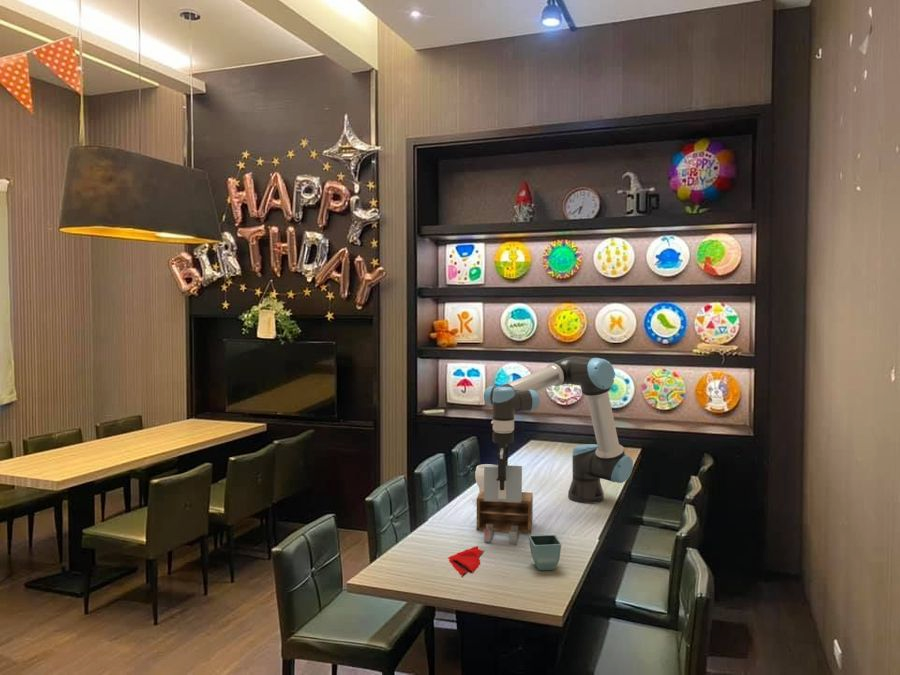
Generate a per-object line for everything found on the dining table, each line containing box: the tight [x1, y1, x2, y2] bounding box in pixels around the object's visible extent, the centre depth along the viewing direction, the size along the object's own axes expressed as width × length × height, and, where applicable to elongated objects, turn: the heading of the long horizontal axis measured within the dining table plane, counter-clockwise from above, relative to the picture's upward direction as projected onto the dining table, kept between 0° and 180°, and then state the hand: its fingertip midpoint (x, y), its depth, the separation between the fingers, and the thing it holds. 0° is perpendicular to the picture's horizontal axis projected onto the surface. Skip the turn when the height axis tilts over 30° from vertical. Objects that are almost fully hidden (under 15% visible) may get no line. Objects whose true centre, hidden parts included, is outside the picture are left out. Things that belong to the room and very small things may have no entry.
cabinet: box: [476, 490, 534, 534], centre depth 247 cm, size 20×11×12 cm, turn 80°
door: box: [484, 463, 523, 502], centre depth 233 cm, size 13×4×12 cm, turn 80°
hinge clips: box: [483, 524, 520, 546], centre depth 236 cm, size 11×12×4 cm
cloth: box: [447, 545, 485, 578], centre depth 215 cm, size 26×14×2 cm, turn 155°
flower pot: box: [528, 534, 562, 571], centre depth 210 cm, size 9×9×9 cm
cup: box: [474, 463, 492, 492], centre depth 277 cm, size 11×11×15 cm
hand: (502, 496), depth 232 cm, fingers closed on door, 3 cm apart
